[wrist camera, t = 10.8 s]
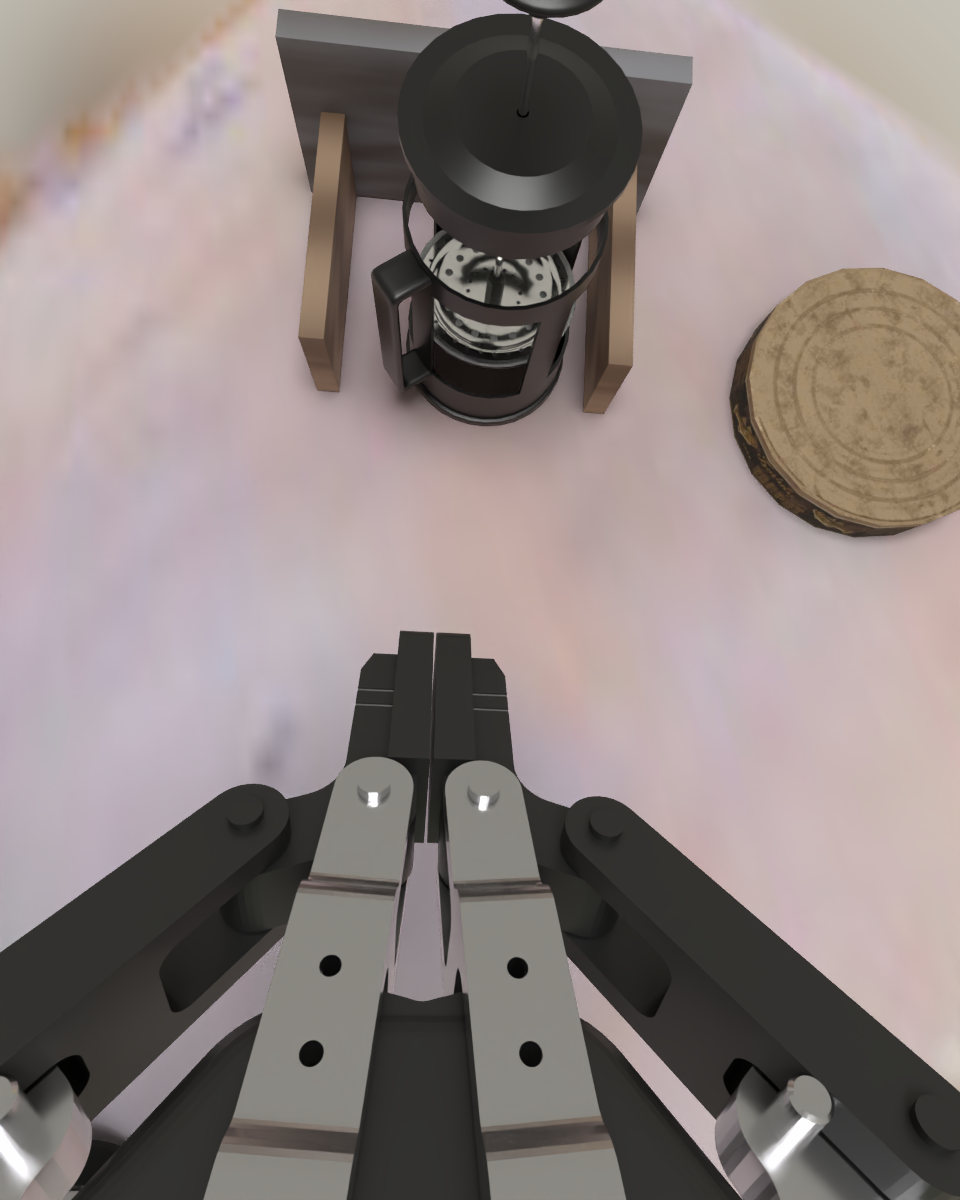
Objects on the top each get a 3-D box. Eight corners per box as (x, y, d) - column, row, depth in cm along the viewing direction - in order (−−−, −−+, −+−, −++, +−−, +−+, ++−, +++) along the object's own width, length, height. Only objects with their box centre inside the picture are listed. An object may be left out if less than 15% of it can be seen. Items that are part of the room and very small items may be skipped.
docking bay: (628, 415, 42) (689, 327, 32) (291, 388, 41) (247, 286, 31) (633, 201, 44) (692, 57, 34) (313, 169, 43) (278, 9, 33)
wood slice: (678, 367, 43) (696, 342, 40) (878, 255, 45) (910, 223, 42) (822, 586, 41) (852, 577, 39) (1022, 460, 44) (1065, 442, 41)
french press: (515, 248, 43) (613, -261, 20) (601, 371, 42) (801, -15, 19) (351, 340, 41) (256, -103, 19) (437, 469, 40) (447, 173, 18)
